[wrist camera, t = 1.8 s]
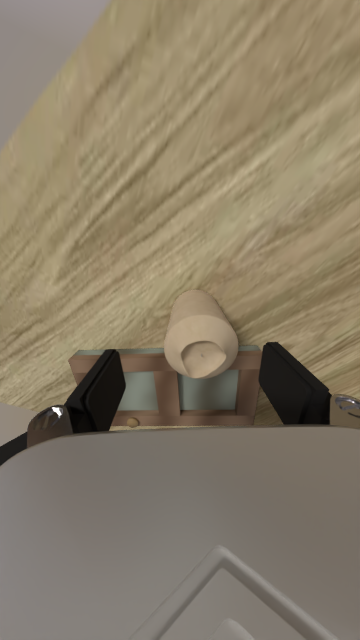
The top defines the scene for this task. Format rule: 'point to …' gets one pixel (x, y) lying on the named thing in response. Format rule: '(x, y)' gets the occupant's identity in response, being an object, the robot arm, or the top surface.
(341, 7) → the top surface
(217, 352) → the candle
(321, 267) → the top surface
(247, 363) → the divided tray
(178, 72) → the top surface
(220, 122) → the top surface
